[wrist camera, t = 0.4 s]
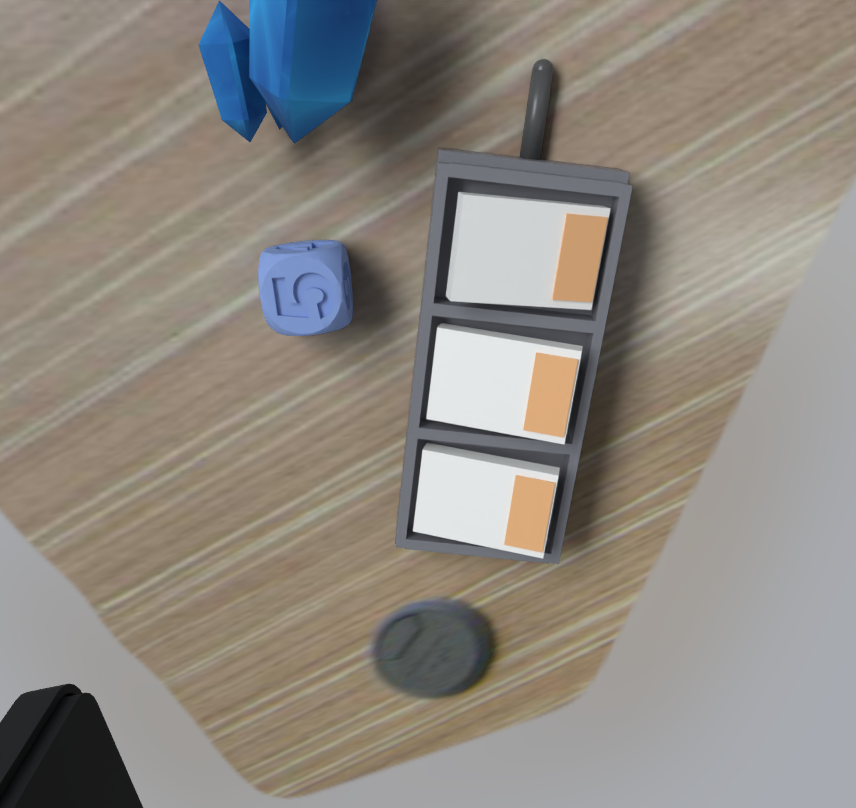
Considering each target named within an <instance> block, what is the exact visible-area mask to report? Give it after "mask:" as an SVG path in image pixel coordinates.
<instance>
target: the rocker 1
mask: <svg viewBox="0 0 856 808" xmlns="http://www.w3.org/2000/svg"><path fill="white" fill-rule="evenodd" d="M610 209H611V208H608V207H605V206H602V205H592V204H582V203H571V202H561V201H550V200H540V199H529V198H518V197H508V196H497V195H487V194H476V193H466V192H458V200H457V208H456V216H455V224H454V233H453V241H452V249H451V257H450V265H449V274H448V282H447V290H446V297H447V298H448V299H449V300H450V301H456V302H472V303H488V304H504V305H521V306H537V307H553V308H569V309H585V310H592V304H593V299H594V294H595V288H596V283H597V278H598V272H599V267H600V262H601V256H602V251H603V246H604V241H605V235H606V230H607V225H608V219H609V214H610Z"/></svg>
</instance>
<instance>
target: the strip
mask: <svg viewBox="0 0 856 808" xmlns="http://www.w3.org/2000/svg"><path fill="white" fill-rule="evenodd" d="M553 72H554V68H553V65H552V63H551V62H550V61H549V60H546V59H541V60H538V61H537V62H536V63H535V64H534V66H533V69H532V75H531V82H530V89H529V96H528V103H527V110H526V117H525V124H524V130H523V137H522V144H521V151H520V157H515V156H507V155H498V154H490V153H481V152H473V151H464V150H456V149H447V148H439V147H438V155H437V164H436V173H435V182H434V191H433V200H432V209H431V218H430V227H429V236H428V245H427V254H426V263H425V272H424V281H423V290H422V299H421V308H420V317H419V326H418V335H417V344H416V353H415V362H414V371H413V380H412V389H411V398H410V407H409V416H408V425H407V434H406V443H405V453H404V462H403V471H402V480H401V489H400V498H399V507H398V516H397V526H396V537H395V544H396V547H399V548H405V549H411V550H421V551H431V552H441V553H451V554H461V555H471V556H481V557H490V558H500V559H510V560H520V561H530V562H540V563H558V564H559V560H560V555H561V549H562V544H563V539H564V534H565V529H566V524H567V519H568V514H569V509H570V503H571V498H572V493H573V488H574V483H575V478H576V473H577V468H578V463H579V457H580V452H581V447H582V442H583V437H584V432H585V427H586V422H587V417H588V411H589V406H590V401H591V396H592V391H593V386H594V381H595V376H596V371H597V365H598V360H599V355H600V350H601V345H602V340H603V335H604V330H605V325H606V319H607V314H608V309H609V304H610V299H611V294H612V289H613V284H614V278H615V273H616V268H617V263H618V258H619V253H620V248H621V243H622V238H623V232H624V227H625V222H626V217H627V212H628V207H629V202H630V197H631V192H632V185H629V184H628V179H629V174H630V172H627V171H624V170H621V169H617V168H609V167H600V166H592V165H583V164H575V163H566V162H558V161H549V160H541V159H540V156H541V150H542V143H543V137H544V130H545V124H546V117H547V111H548V104H549V98H550V91H551V85H552V78H553ZM458 192H466V193H476V194H487V195H497V196H508V197H518V198H529V199H540V200H550V201H561V202H571V203H582V204H592V205H602V206H605V207H608V208H611V209H610V214H609V219H608V225H607V230H606V235H605V241H604V246H603V251H602V256H601V262H600V267H599V272H598V278H597V283H596V288H595V294H594V299H593V304H592V310H585V309H569V308H553V307H537V306H521V305H504V304H488V303H472V302H456V301H450V300H449V299H448V298H447V297H446V290H447V282H448V274H449V265H450V257H451V249H452V241H453V233H454V224H455V216H456V208H457V200H458ZM441 323H445V324H451V325H458V326H464V327H470V328H476V329H482V330H488V331H494V332H500V333H506V334H512V335H518V336H524V337H530V338H537V339H543V340H549V341H555V342H561V343H567V344H573V345H579V346H583V347H582V353H581V359H580V364H579V369H578V375H577V380H576V386H575V391H574V396H573V402H572V407H571V412H570V418H569V423H568V428H567V434H566V439H565V444H559V443H553V442H548V441H543V440H537V439H532V438H526V437H521V436H516V435H510V434H505V433H499V432H494V431H489V430H483V429H478V428H472V427H467V426H462V425H456V424H451V423H445V422H440V421H435V420H429V419H426V417H427V409H428V401H429V392H430V384H431V375H432V367H433V359H434V350H435V342H436V334H437V327H438V326H439V325H440V324H441ZM426 443H432V444H438V445H443V446H448V447H453V448H459V449H464V450H469V451H474V452H480V453H485V454H490V455H495V456H501V457H506V458H511V459H517V460H522V461H527V462H532V463H538V464H543V465H548V466H553V467H559V468H560V470H559V476H558V482H557V487H556V492H555V498H554V503H553V508H552V514H551V519H550V524H549V530H548V535H547V540H546V546H545V551H544V556H543V558H538V557H533V556H528V555H524V554H519V553H514V552H509V551H504V550H500V549H495V548H490V547H485V546H481V545H476V544H471V543H466V542H461V541H457V540H452V539H447V538H442V537H438V536H433V535H428V534H423V533H419V532H414V531H413V526H414V518H415V509H416V501H417V493H418V484H419V476H420V468H421V459H422V451H423V448H424V446H425V445H426Z"/></svg>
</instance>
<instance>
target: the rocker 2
mask: <svg viewBox="0 0 856 808" xmlns="http://www.w3.org/2000/svg"><path fill="white" fill-rule="evenodd" d="M559 470H560V468H559V467H553V466H548V465H543V464H538V463H532V462H527V461H522V460H517V459H511V458H506V457H501V456H495V455H490V454H485V453H480V452H474V451H469V450H464V449H459V448H453V447H448V446H443V445H438V444H432V443H426V445H425V446H424V448H423V451H422V459H421V468H420V476H419V484H418V493H417V501H416V509H415V518H414V526H413V531H414V532H419V533H423V534H428V535H433V536H438V537H442V538H447V539H452V540H457V541H461V542H466V543H471V544H476V545H481V546H485V547H490V548H495V549H500V550H504V551H509V552H514V553H519V554H524V555H528V556H533V557H538V558H543V556H544V551H545V546H546V540H547V535H548V530H549V524H550V519H551V514H552V508H553V503H554V498H555V492H556V487H557V482H558V476H559Z"/></svg>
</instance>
